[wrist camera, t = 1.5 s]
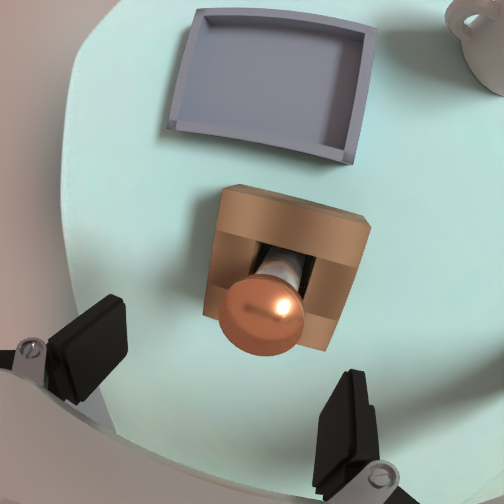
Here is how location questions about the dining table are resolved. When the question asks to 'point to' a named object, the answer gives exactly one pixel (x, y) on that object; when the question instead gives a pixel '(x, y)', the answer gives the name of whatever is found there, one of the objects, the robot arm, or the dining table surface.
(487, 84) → the cup
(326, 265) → the hitch block
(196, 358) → the dining table surface
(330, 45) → the tray
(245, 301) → the pin
